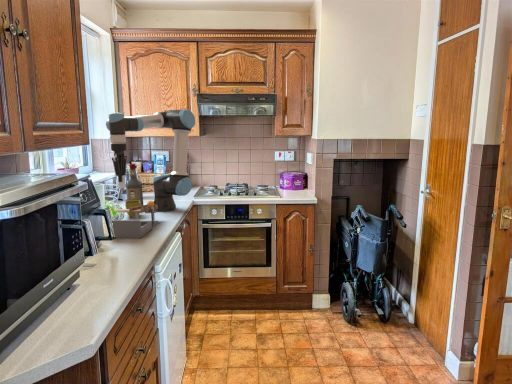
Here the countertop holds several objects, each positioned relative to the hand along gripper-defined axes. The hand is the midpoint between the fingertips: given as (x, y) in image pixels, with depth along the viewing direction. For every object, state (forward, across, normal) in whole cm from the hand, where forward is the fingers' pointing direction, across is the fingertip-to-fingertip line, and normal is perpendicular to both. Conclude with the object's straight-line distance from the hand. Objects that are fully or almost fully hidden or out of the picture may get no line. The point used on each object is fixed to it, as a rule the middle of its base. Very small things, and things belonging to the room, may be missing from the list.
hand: (121, 187), depth 193 cm
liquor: (+22, -47, -13) cm, 53 cm away
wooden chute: (+16, -6, +5) cm, 18 cm away
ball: (+12, -16, +9) cm, 22 cm away
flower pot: (+22, -26, -6) cm, 35 cm away
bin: (+22, +12, +9) cm, 26 cm away
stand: (+22, -6, +9) cm, 25 cm away
